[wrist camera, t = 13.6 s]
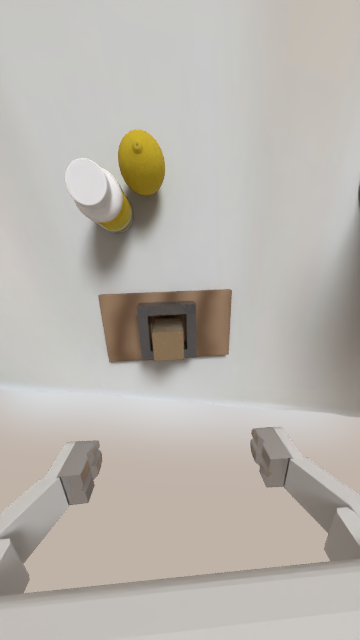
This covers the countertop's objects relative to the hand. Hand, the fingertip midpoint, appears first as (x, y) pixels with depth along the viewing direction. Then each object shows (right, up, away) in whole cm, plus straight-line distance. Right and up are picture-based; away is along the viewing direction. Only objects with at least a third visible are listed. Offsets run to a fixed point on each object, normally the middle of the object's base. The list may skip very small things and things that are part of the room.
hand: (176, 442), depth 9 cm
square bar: (-2, +5, +21) cm, 22 cm away
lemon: (-5, +27, +16) cm, 32 cm away
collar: (-2, +5, +21) cm, 22 cm away
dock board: (-2, +6, +22) cm, 23 cm away
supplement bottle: (-10, +23, +17) cm, 30 cm away
